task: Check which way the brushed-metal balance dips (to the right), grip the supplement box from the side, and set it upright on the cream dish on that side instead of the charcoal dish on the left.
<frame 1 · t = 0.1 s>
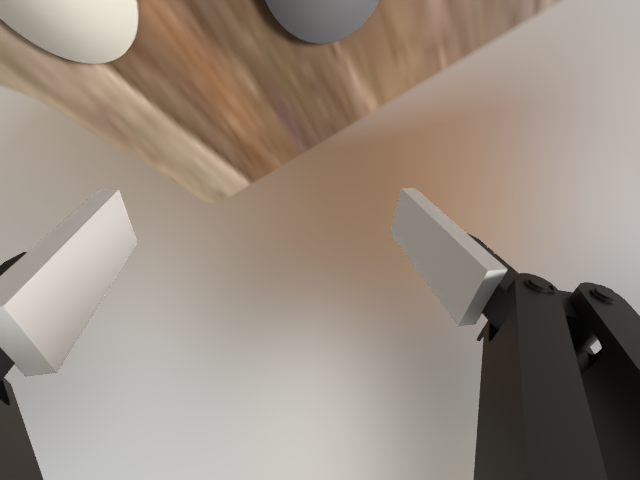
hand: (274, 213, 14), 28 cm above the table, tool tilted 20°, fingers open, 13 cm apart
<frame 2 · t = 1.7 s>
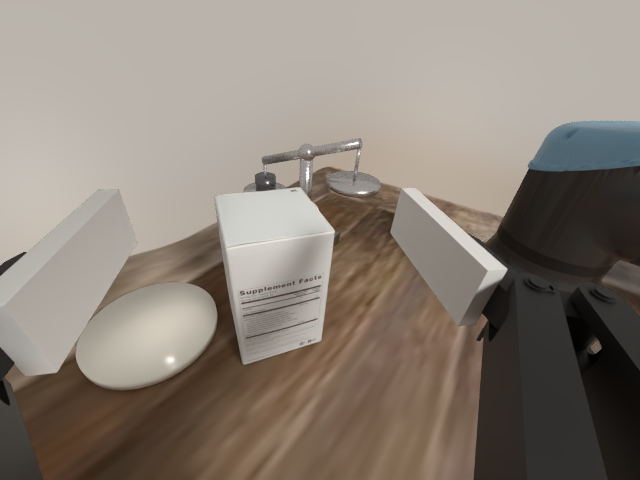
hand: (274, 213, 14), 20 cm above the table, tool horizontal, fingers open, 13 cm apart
supplement box: (273, 323, 33), on the table
cream dish: (155, 331, 30), on the table
balance: (302, 241, 47), on the table
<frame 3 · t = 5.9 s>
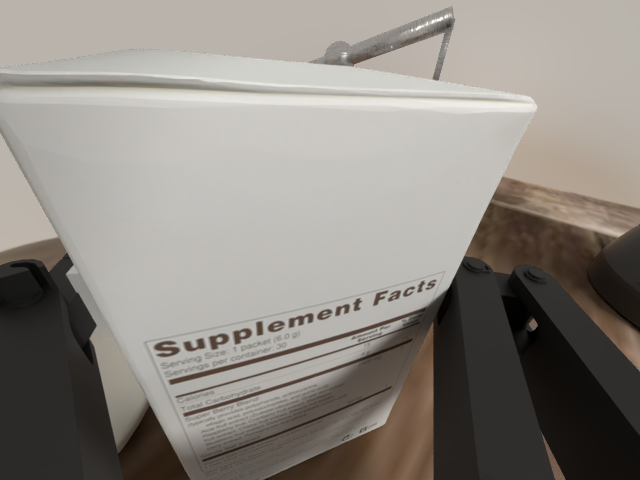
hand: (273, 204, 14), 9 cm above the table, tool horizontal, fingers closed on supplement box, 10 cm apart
supplement box: (280, 376, 16), on the table, touching gripper
cream dish: (14, 403, 13), on the table
balance: (323, 225, 30), on the table
when the fingers open (11 cm above the table, at t = 11.2 s): supplement box drops 2 cm, resting on cream dish.
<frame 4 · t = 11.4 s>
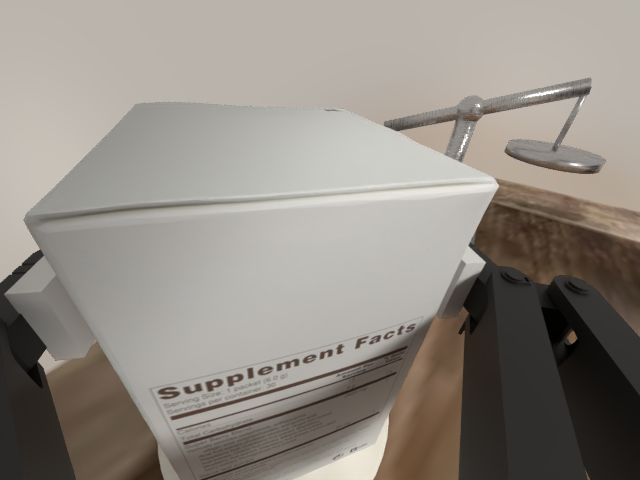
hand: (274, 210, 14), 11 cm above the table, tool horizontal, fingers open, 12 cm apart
supplement box: (277, 392, 17), point 1 cm above the table, touching cream dish
cream dish: (279, 400, 17), on the table
balance: (423, 243, 34), on the table
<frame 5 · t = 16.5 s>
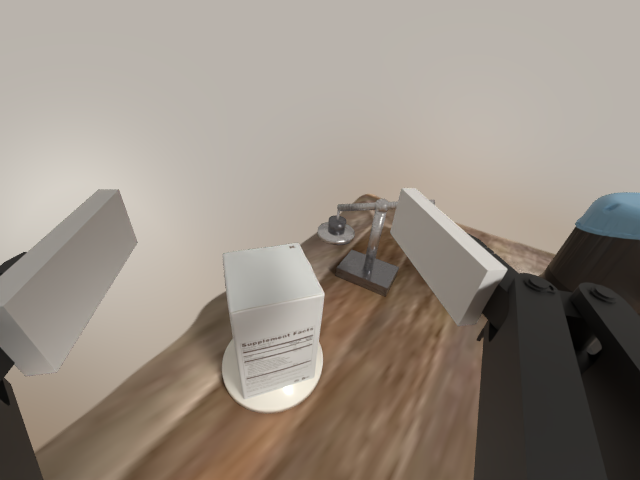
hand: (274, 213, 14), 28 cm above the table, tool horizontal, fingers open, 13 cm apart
supplement box: (272, 358, 36), point 1 cm above the table, touching cream dish
cream dish: (274, 362, 37), on the table
balance: (366, 275, 53), on the table
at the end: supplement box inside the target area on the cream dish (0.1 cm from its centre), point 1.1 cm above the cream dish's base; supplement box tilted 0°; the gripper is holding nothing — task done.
